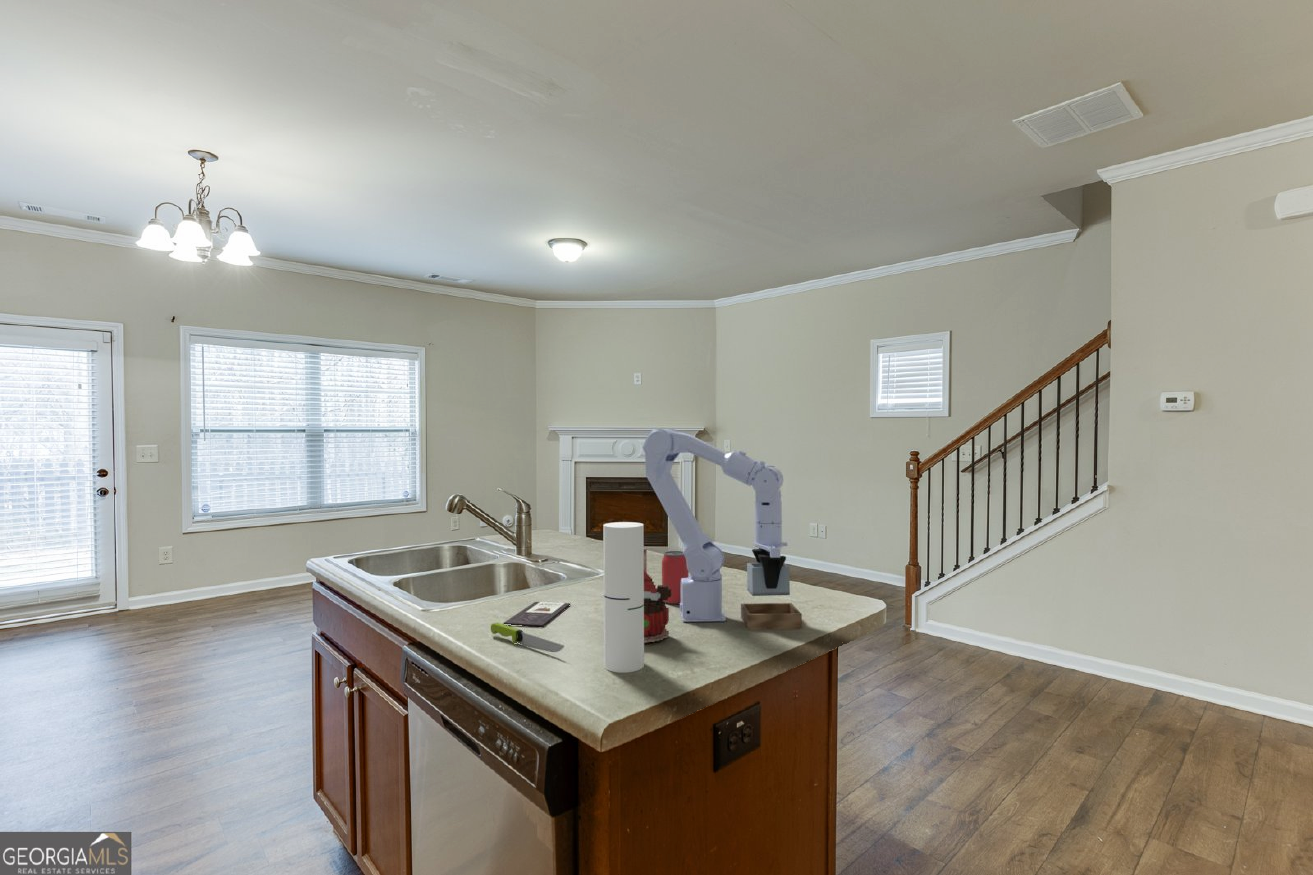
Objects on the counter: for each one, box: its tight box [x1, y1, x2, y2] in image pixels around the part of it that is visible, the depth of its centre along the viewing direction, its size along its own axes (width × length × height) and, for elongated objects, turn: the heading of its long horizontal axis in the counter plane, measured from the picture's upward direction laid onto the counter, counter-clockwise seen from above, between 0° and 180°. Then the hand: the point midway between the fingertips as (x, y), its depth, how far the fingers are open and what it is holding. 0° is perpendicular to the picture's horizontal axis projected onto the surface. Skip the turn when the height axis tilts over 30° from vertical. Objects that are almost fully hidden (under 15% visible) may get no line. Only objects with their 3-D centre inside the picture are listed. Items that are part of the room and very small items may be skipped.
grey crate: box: [746, 562, 791, 597], centre depth 137 cm, size 8×5×6 cm
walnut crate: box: [740, 602, 803, 631], centre depth 137 cm, size 11×9×4 cm
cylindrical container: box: [602, 521, 645, 674], centre depth 112 cm, size 7×7×25 cm
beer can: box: [661, 550, 690, 605], centre depth 156 cm, size 7×7×12 cm
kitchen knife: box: [490, 622, 565, 653], centre depth 122 cm, size 22×1×3 cm, turn 49°
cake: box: [644, 548, 671, 644], centre depth 127 cm, size 11×9×18 cm
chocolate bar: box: [502, 601, 571, 628], centre depth 144 cm, size 9×1×18 cm
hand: (768, 584), depth 137 cm, fingers closed on grey crate, 5 cm apart
